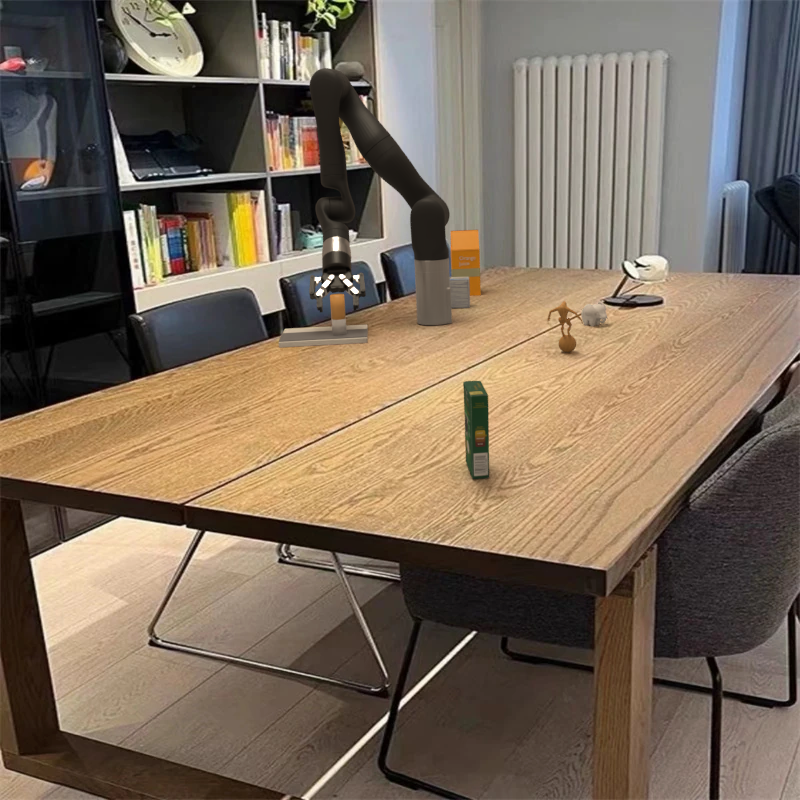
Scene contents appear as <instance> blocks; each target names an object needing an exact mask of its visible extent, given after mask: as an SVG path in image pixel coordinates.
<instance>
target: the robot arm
mask: <svg viewBox="0 0 800 800" xmlns="http://www.w3.org/2000/svg"><path fill="white" fill-rule="evenodd" d="M309 91H310V97H311V103H312V108H313V110H314V117H315V118H314V119H315V124H316V130H317V138H318V151H319V152H318V153H319V170H320V171H319V172H320V183H321V185H322V187H323V188H327V189H332V190H333V189H334V190H336V191H338V192H339V193H340V195H341V196H326V197H325V196H324V197H321V198H319V199H318V200H317V202H316V203H315V214H316V218H317V220H318V223H319V225H320V228H321V231H322V248H321V249H322V251H321V255H322V256H321V263H322V265H321V267H322V270H321V272H322V274H321V276H319V277H317V276H315V275H314V274H312V275H310V276H309V289H308V290H309V291H308V294H309V298H310V300H316V310H317V311H319V313H323V312H324V311H323V310H324V309H323V307H324V303H323V299H325V297H327V296H328V295H329V294H330V292H331V293H332V294H336V293H345V292H346V293H347V294H348V295H350V296H351V297H352V305H353V306H352V308H353V311H355V312H356V311H357V309H359V308H360V298H362V297H363V298H364V297H366V296H367V293H366V284H365V274H364V273H363V272H359V273H358V274H357V275H353V272H352V270H353V269H352V250H351V246H350V241H351V240H350V230H349V227H348V226H347V225H346V224H348V223H351V222H352V221H353V220H354V219H355V216H356V208H355V207H356V206H355V204H354V201H353V198H352V194H351V192H350V188H349V182H348V174H347V173H348V172H347V171H348V170H347V156H346V149H345V144H344V140H343V137H342V136H343V135H342V132H341V126H340V120H341V121H342V123H344V125H345V126H346V128H347V129H348V131H349V133H350V136H351V138H352V141H353V142H354V144H355V147H356V148H357V150H358V152H359V153H360V155H361V157H362V158H363V159H364V160H365V161H366V163H367V164H368V165H369V167H370V168H371V169H372V170H373V172H375V174H376V175H377V176H378V177H380V178H381V179H382V180H383V181H384V182H386V184H388V185H389V186H391V188H392V189H394V190H395V191H396V192H397V193H399V194H400V196H401V197H402V198H403V199H404V200H405V202H406V204H407V205H408V207H409V208H410V214H409V215H410V217H409V220H410V221H409V222H410V223H409V225H410V239H411V240H410V241H411V248H412V252H413V256H414V257H413V259H414V261H413V262H414V279H415V285H414V286H415V301H416V304H415V305H416V307H415V308H416V323H417V324H419V325H423V326H440V325H446V324H452V323H453V321H452V320H453V319H452V317H453V316H452V308H451V288H450V277H451V275H450V251H449V247H448V244H447V240H446V239H447V237H446V226H447V225H448V224H449V220H450V217H451V216H450V210H449V209H450V208H449V206H448V204H447V203H446V202H445V200H444V199H443V198H442V197H441V196H440V195H439V194H438V193H437V192H436V191H435V190H434V189H433V188H432V187H431V186H430V185H429V184H428V183H427V182H426V181H425V180H424V178H423V177H422V175H420V173H419V172H418V170H417V169H416V168H415V166H414V164H413V163H412V161H411V160H410V158H409V157H408V156H407V154H405V152H404V151H403V149H402V148H401V146H400V145H399V144H398V143H397V141H396V140H395V138H393V136H392V135H391V134H390V132H389V131H388V130H387V129H386V128H385V126H384V125H383V124H382V123H381V122H380V121H379V119H378V118H376V116H375V115H374V114H373V113H372V112H371V111H370V110H369V109H368V108H367V106H366V105H365V104H364V102H363V100H362V99H361V97H360V96H359V94H358V92H357V91H356V90H355V88H354V86H353V85H352V83H351V81H350V80H349V78H348V77H347V76H346V75H345V74H344V72H342V71H340V70H337V69H334V68H333V69H332V68H329V67H328V68H327V67H325V68H320V69H318V70H316V71H315V72H314V73H313V74H312V76H311V78H310V81H309ZM354 281H355V282H356V283H357V284H358V285H359V288H360V289H357V288H356V287H355V286H354V284H353V283H354ZM320 283H321V284H322V285H321V287H320V288H319V289H318V291H316V287H318V286H319V284H320Z"/></svg>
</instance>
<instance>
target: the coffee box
mask: <svg viewBox="0 0 800 800" xmlns="http://www.w3.org/2000/svg"><path fill="white" fill-rule="evenodd" d="M463 411H464V440H465V442H464V443H465V444H464V445H465V462H466V463H465V464H466V466H467V469H468V470H469V474H470V476H471V479H472V480H479V479H480V480H481V479H483V480H484V479H485V480H486V479H490V438H489V437H490V436H489V435H490V434H489V432H490V429H489V425H490V424H489V423H490V422H489V421H490V420H489V415H490V414H489V394H488V392H487V391H486V388H485V387H484V385H483V382H482V380H466V381H463Z"/></svg>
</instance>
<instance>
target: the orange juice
mask: <svg viewBox="0 0 800 800" xmlns="http://www.w3.org/2000/svg"><path fill="white" fill-rule="evenodd" d="M479 235H480V234H479V229H463V230H461V229H460V230H458V229H457V230H450V274H451V275H450V277H469V284H470V297H474V296H481V293H482V292H481V291H482V290H481V289H482V288H481V258H480V257H481V254H480V253H481V252H480V240H479V239H480V237H479Z"/></svg>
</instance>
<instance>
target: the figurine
mask: <svg viewBox="0 0 800 800" xmlns="http://www.w3.org/2000/svg"><path fill="white" fill-rule="evenodd" d="M555 312H557V314H559V316H560V317H558V322H559V324H560V325H561V327H560V332H561V335H562V336H561V337H560V339H559V340H558V347H559V349H560V350H561V351H562V352H563V353H571V352H573V351H574V350H575V349H576V347H577V340H576V338H575V337H574V336H573V335H572V334H571V333H570V331H571V328H572V325H573V324H572V322H571V318H570V317H568V314H569V313H570V314H574V315H575V316H576V318H577V319H579V321H581V324H583V325H584V323H583V320H582V317H581V316H580V315H578V313H577V312H576V311H574V310H572V309H571V308H569V307H568V306H567V302H566V301H562V302H561V304H560V305H558V306H557V307H555V308H552V309H551V310H550V311H549V312H548V316H547V322H550V320H551V316H552V313H555ZM565 323H566V325H567V326H568V327H567V329H566V330H567V331H566V332H567V334H566V333H565V332H564V330H565Z"/></svg>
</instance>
